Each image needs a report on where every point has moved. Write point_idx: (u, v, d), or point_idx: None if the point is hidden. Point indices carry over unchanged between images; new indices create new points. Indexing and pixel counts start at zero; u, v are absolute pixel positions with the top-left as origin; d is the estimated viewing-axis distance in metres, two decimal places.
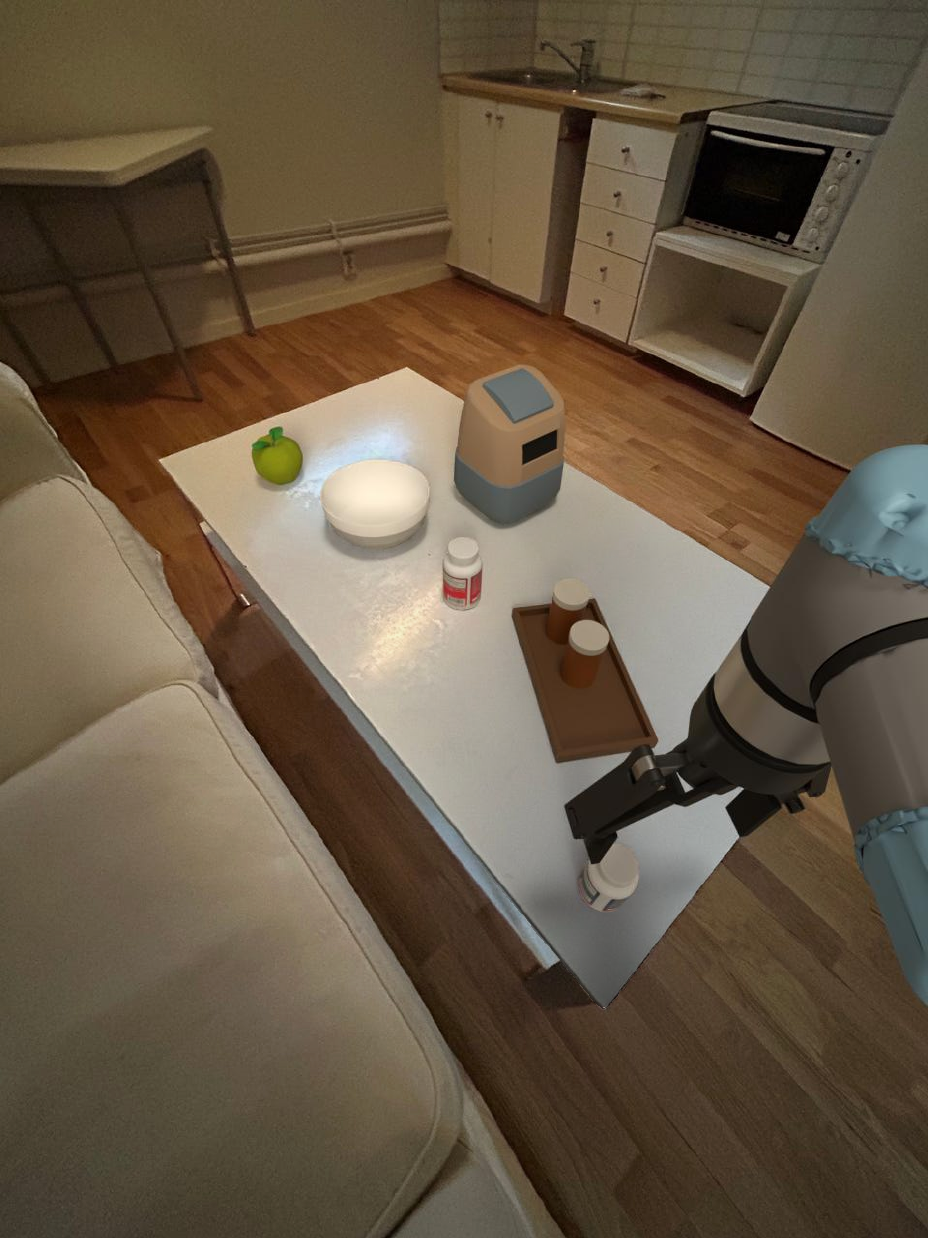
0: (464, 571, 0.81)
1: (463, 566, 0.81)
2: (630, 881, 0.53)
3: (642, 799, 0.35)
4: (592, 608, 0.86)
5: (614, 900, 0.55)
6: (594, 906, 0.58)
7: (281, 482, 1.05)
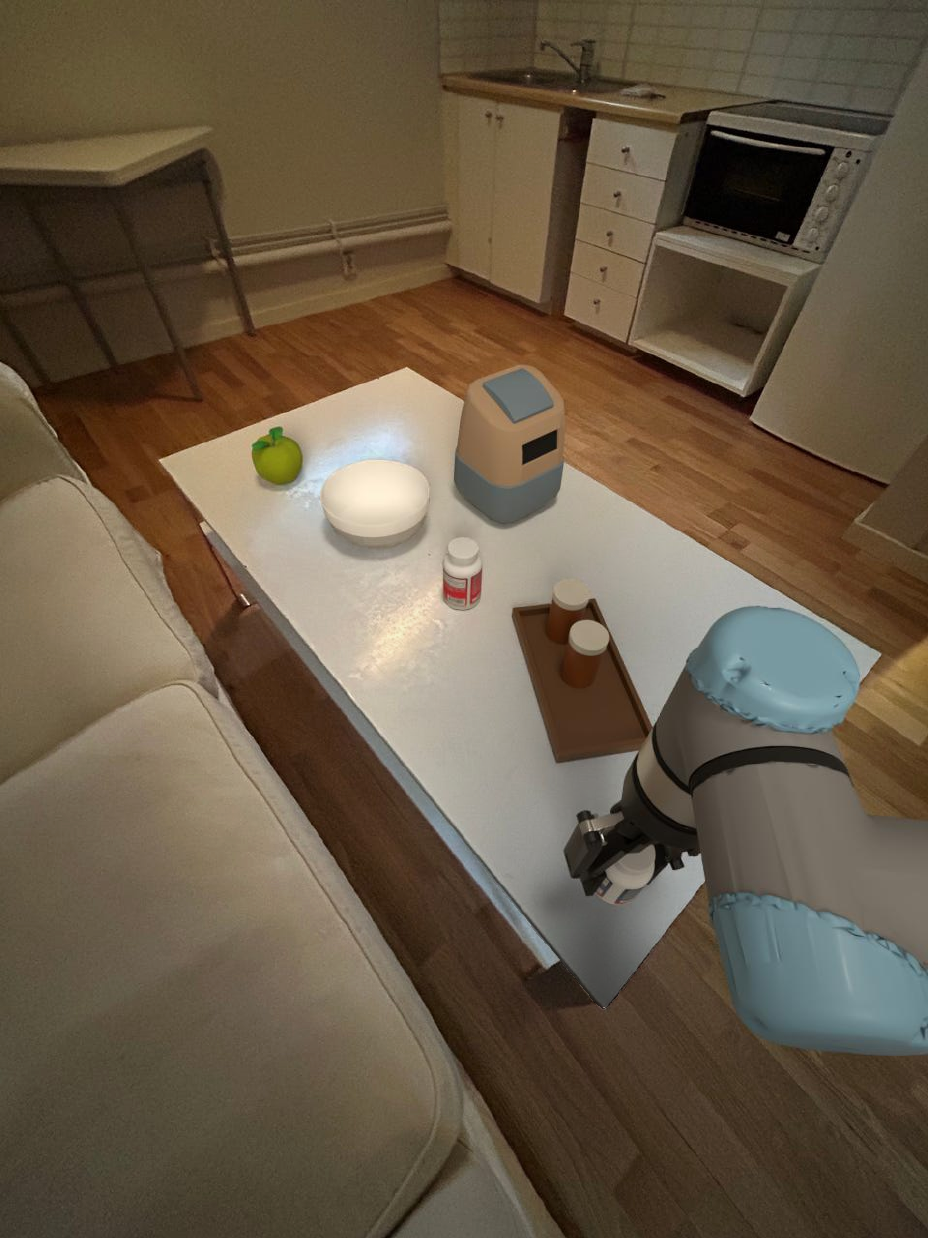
0: (464, 571, 0.81)
1: (462, 566, 0.81)
2: (646, 868, 0.49)
3: (597, 851, 0.44)
4: (592, 608, 0.86)
5: (628, 890, 0.51)
6: (605, 897, 0.54)
7: (281, 482, 1.05)
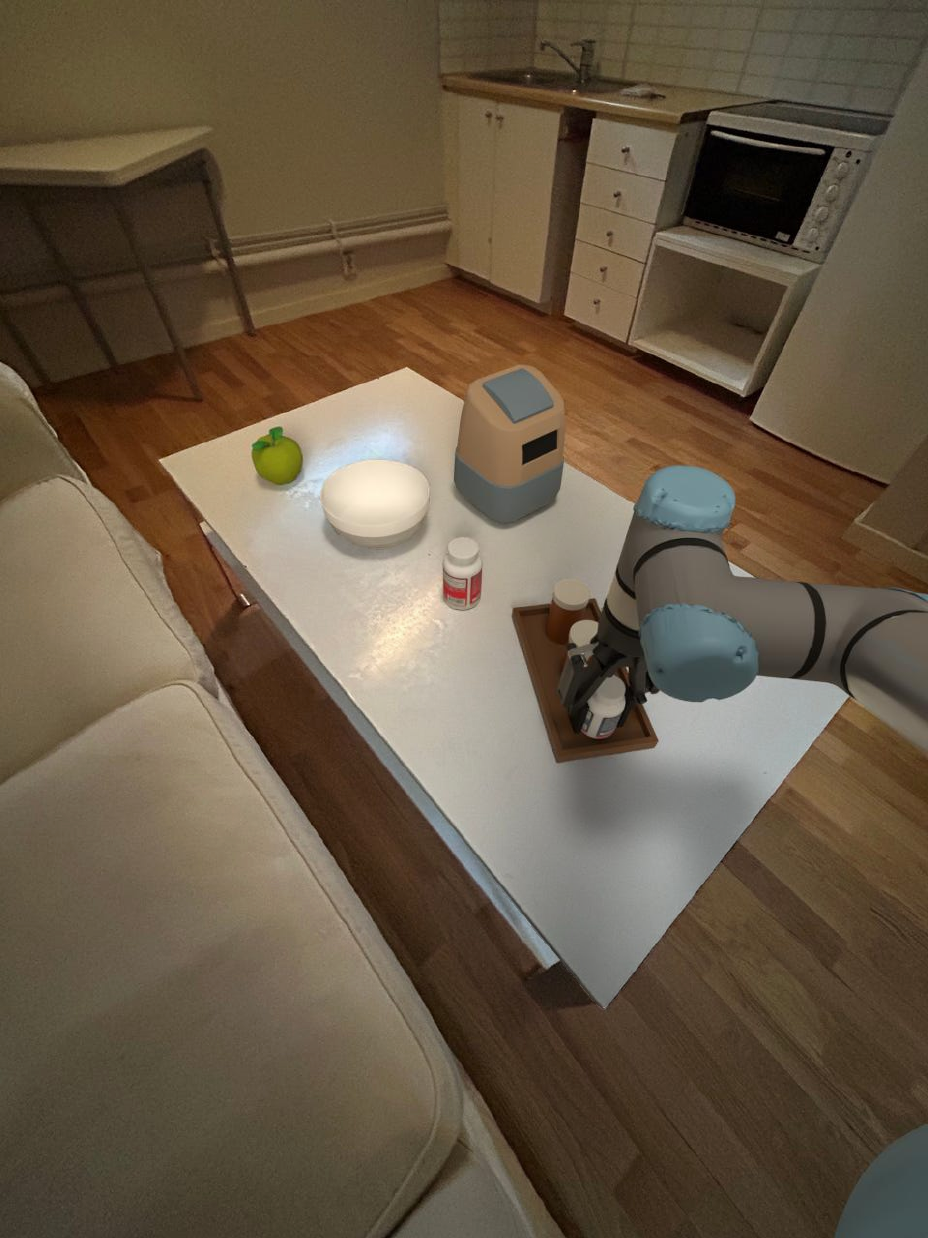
0: (464, 571, 0.81)
1: (462, 566, 0.81)
2: (618, 698, 0.66)
3: (580, 674, 0.61)
4: (592, 608, 0.86)
5: (605, 719, 0.68)
6: (589, 732, 0.71)
7: (281, 482, 1.05)
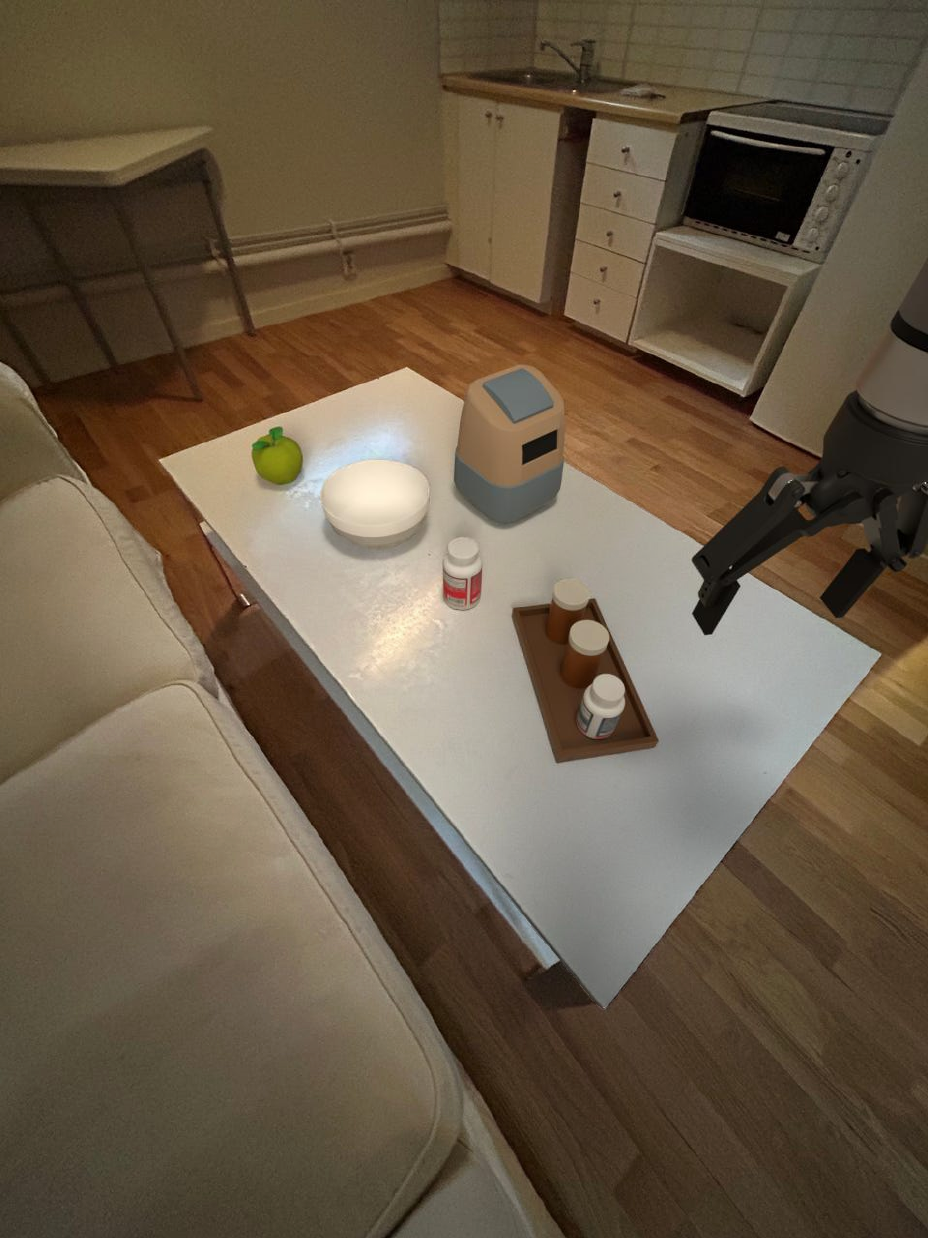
0: (464, 571, 0.81)
1: (462, 566, 0.81)
2: (617, 698, 0.66)
3: (778, 520, 0.40)
4: (592, 608, 0.86)
5: (605, 719, 0.68)
6: (589, 732, 0.71)
7: (281, 482, 1.05)
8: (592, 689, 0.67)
